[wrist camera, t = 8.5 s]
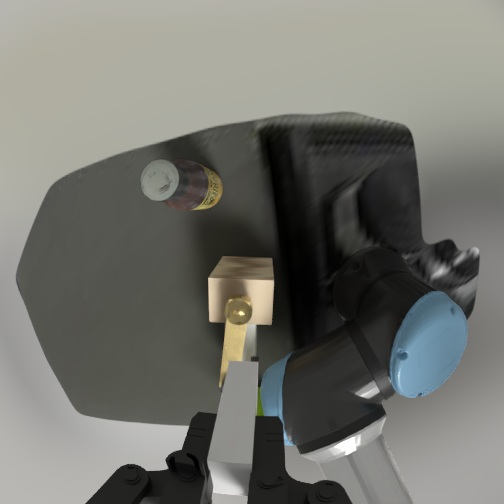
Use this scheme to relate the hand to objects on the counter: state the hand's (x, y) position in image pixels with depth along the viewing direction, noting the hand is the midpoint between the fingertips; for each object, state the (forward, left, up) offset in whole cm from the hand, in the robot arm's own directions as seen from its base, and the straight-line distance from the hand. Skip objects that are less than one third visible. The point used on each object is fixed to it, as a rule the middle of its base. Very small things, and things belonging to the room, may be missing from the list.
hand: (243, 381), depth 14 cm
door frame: (+2, +11, -32) cm, 34 cm away
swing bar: (+2, +9, -19) cm, 21 cm away
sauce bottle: (+9, -10, -33) cm, 35 cm away
